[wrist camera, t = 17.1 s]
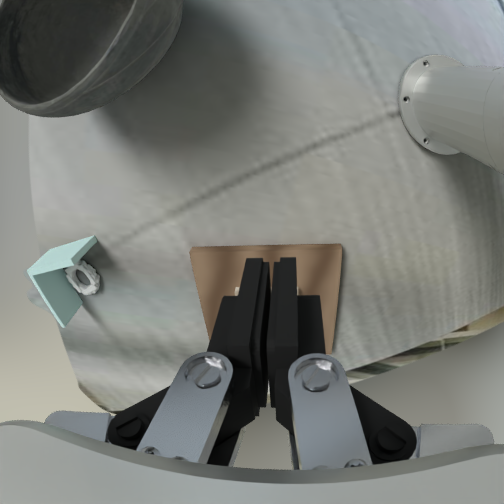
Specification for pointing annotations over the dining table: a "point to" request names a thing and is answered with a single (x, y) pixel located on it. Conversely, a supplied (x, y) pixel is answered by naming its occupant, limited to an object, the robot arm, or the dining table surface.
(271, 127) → the dining table surface
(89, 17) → the bowl
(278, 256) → the walnut board
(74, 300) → the right angle wall
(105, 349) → the dining table surface
